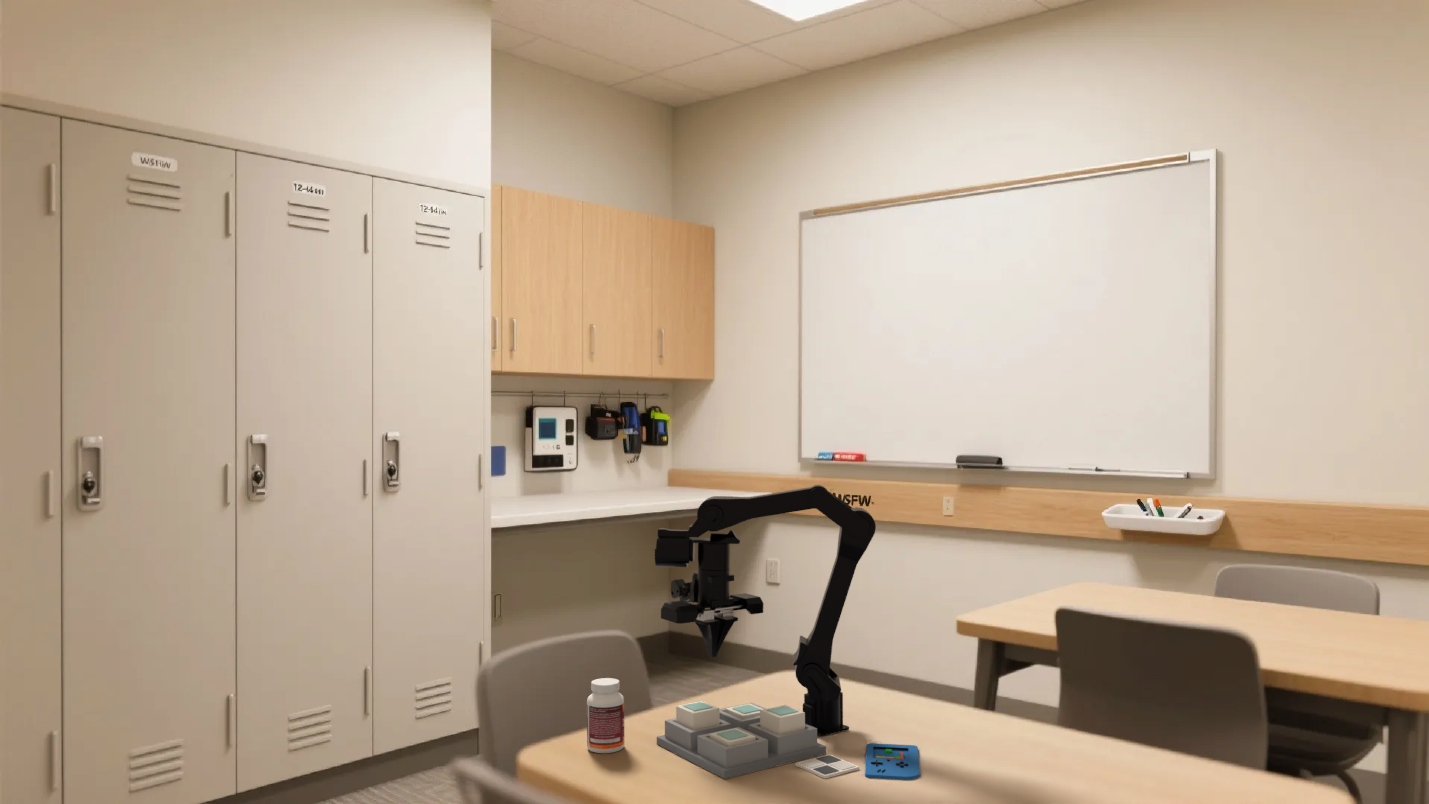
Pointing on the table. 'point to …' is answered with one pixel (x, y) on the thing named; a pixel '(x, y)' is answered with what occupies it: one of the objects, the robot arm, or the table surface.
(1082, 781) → the table surface
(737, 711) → the button
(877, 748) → the handheld gaming device
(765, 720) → the button
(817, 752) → the console
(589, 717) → the pill bottle
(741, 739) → the button
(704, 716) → the button
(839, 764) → the card
